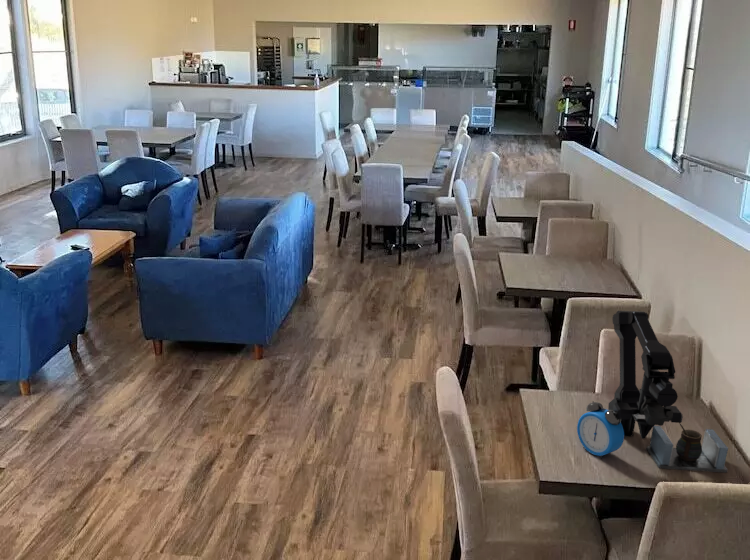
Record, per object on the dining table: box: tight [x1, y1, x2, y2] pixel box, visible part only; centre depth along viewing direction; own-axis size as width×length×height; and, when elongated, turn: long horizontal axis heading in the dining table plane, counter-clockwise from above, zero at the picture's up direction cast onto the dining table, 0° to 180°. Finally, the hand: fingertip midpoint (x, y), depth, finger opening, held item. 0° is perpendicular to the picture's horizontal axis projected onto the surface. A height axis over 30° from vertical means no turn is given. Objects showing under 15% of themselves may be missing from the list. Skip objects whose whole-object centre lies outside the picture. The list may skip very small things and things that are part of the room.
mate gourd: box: [675, 423, 703, 461], centre depth 223 cm, size 7×8×10 cm
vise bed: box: [646, 428, 729, 473], centre depth 223 cm, size 20×11×8 cm, turn 88°
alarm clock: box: [576, 400, 625, 460], centre depth 224 cm, size 13×6×15 cm, turn 35°
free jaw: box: [649, 425, 674, 465], centre depth 223 cm, size 2×11×7 cm, turn 178°
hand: (642, 438), depth 223 cm, fingers closed
